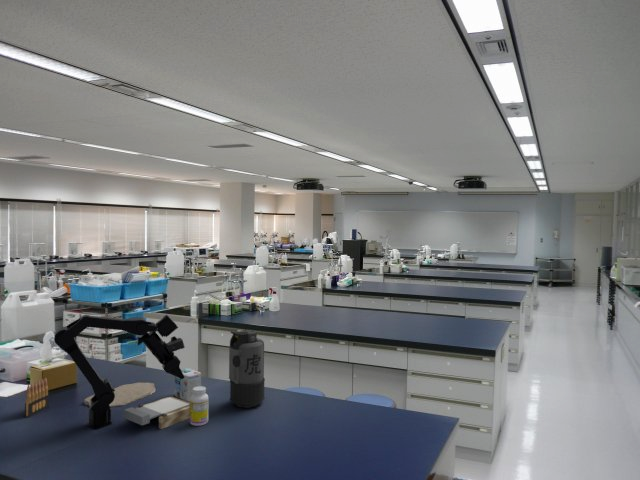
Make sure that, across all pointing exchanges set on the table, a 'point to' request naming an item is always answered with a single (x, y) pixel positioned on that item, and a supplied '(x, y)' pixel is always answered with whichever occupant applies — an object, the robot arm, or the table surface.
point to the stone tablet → (128, 393)
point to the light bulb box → (187, 384)
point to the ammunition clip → (36, 398)
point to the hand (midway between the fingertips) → (181, 374)
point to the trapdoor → (153, 410)
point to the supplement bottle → (199, 406)
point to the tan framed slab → (172, 415)
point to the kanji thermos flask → (246, 369)
